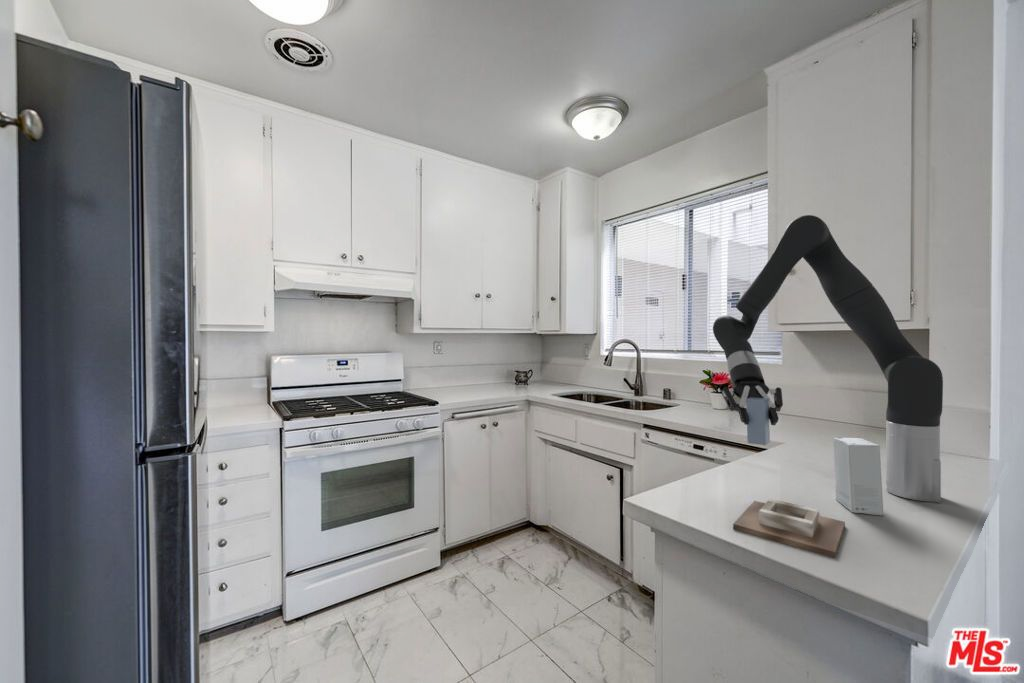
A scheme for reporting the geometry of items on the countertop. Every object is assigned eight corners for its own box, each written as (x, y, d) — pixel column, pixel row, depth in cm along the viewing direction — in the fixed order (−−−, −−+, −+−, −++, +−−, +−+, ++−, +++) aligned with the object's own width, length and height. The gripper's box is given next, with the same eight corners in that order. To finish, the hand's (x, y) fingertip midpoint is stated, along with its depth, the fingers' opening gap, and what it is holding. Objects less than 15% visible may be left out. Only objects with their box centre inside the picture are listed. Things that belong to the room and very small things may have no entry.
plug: (769, 442, 104) (768, 398, 104) (765, 445, 101) (764, 400, 101) (751, 440, 106) (750, 397, 106) (747, 442, 103) (746, 399, 103)
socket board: (844, 526, 82) (844, 509, 82) (835, 557, 71) (835, 537, 71) (754, 505, 93) (754, 489, 93) (733, 528, 82) (733, 511, 82)
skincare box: (884, 516, 87) (884, 446, 87) (849, 513, 89) (849, 444, 89) (863, 501, 95) (863, 437, 95) (832, 498, 97) (832, 435, 97)
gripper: (718, 362, 112) (731, 413, 101) (777, 361, 109) (798, 414, 97) (714, 379, 118) (726, 430, 106) (770, 379, 114) (789, 432, 103)
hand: (760, 422), depth 102 cm, fingers closed on plug, 5 cm apart
